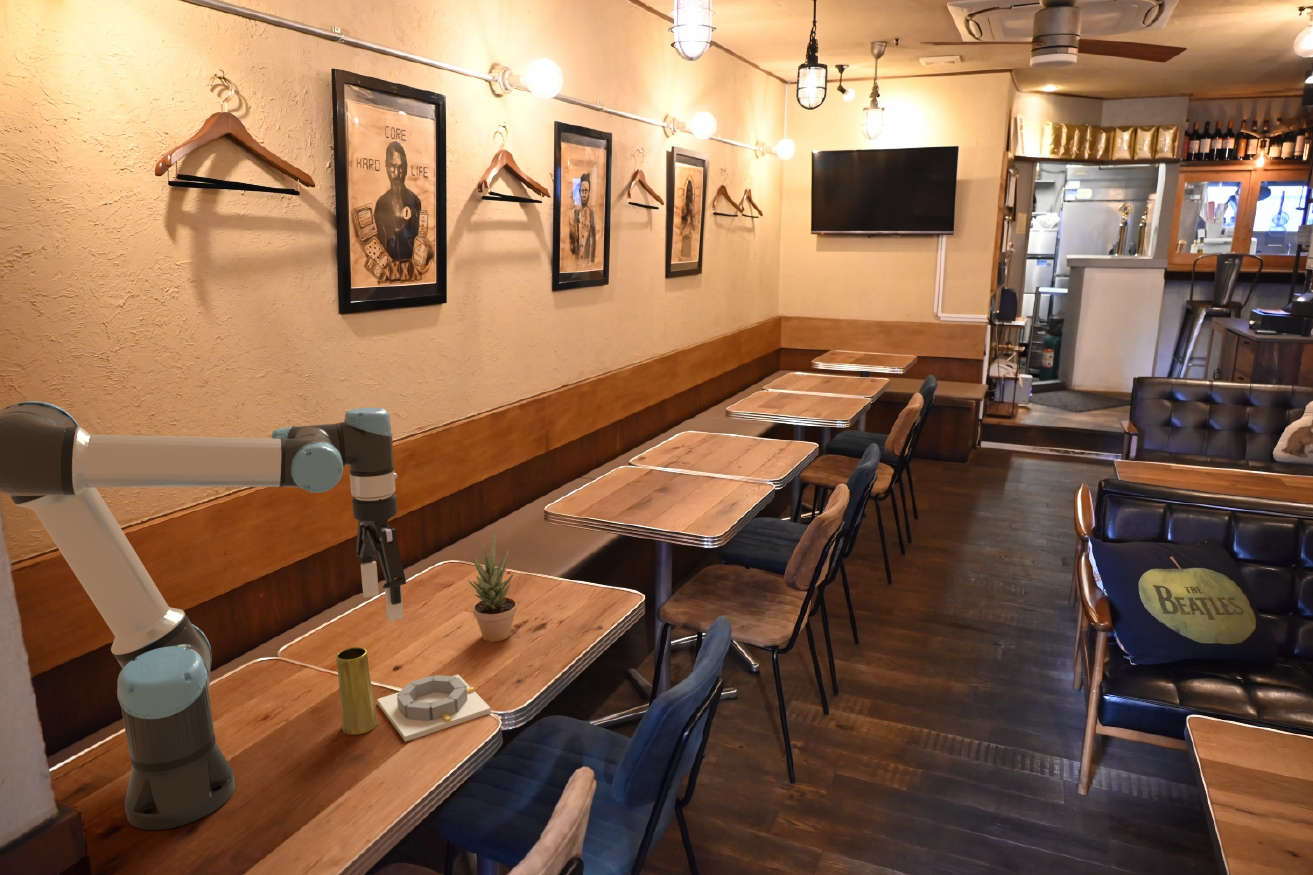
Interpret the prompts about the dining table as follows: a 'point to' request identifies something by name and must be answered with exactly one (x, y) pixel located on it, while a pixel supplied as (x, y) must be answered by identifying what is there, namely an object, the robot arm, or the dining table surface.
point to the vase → (355, 691)
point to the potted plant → (493, 599)
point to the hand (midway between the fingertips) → (382, 607)
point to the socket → (432, 705)
